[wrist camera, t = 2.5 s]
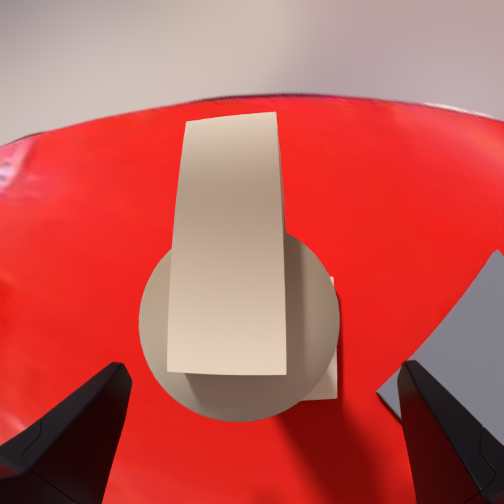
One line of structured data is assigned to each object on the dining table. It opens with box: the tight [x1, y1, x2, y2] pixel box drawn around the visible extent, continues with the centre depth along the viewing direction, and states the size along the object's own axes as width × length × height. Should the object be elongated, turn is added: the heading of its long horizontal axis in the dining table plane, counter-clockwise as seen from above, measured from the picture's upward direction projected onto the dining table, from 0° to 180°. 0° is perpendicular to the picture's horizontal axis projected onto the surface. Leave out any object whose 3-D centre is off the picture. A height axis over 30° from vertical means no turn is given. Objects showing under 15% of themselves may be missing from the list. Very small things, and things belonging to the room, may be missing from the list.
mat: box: [376, 250, 504, 445], centre depth 15 cm, size 13×13×1 cm
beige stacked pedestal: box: [139, 112, 340, 422], centre depth 12 cm, size 8×7×14 cm
